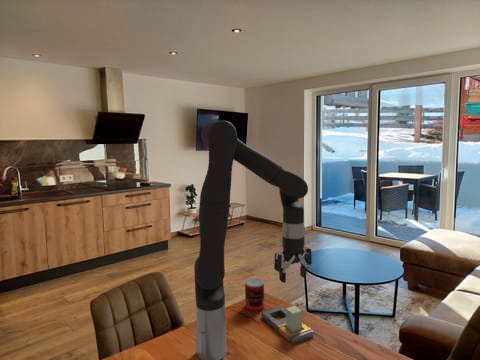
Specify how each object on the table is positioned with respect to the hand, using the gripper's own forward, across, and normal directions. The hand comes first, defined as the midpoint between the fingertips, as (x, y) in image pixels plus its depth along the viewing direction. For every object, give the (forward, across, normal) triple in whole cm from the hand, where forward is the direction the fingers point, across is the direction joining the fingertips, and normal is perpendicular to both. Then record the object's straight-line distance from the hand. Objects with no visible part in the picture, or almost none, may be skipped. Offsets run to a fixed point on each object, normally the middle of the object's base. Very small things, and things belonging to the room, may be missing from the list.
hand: (293, 279), depth 119 cm
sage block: (+20, 0, 0) cm, 20 cm away
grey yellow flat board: (+20, 0, +5) cm, 21 cm away
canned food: (+20, -3, +23) cm, 31 cm away
